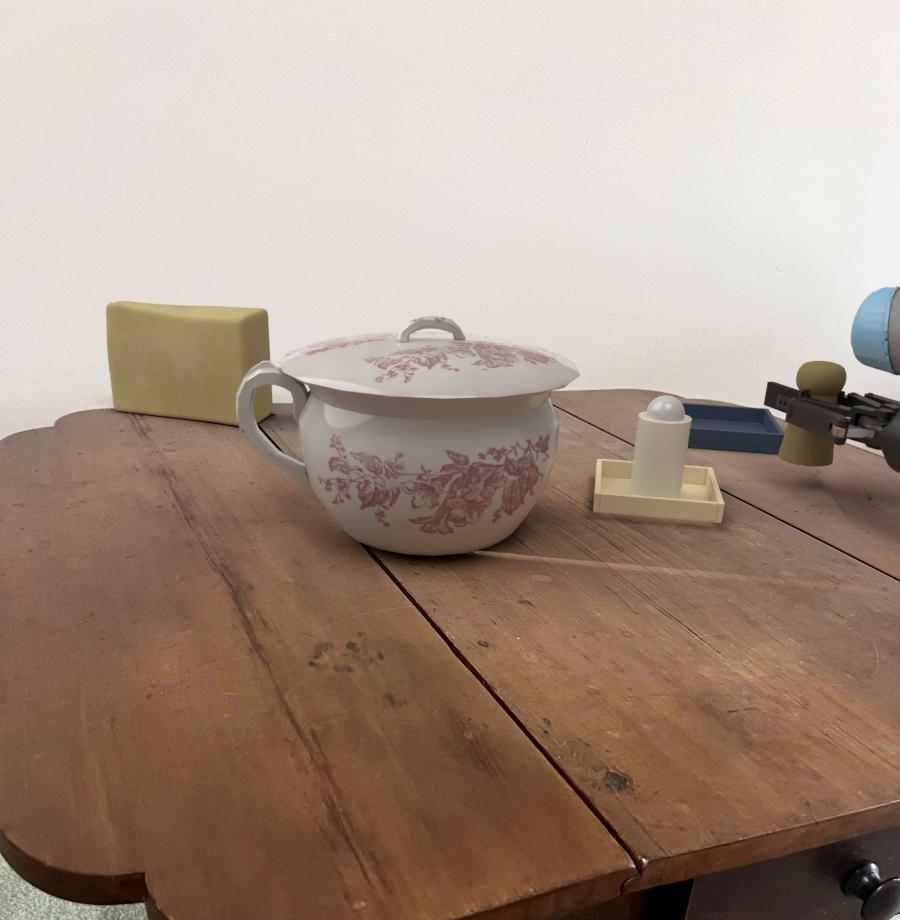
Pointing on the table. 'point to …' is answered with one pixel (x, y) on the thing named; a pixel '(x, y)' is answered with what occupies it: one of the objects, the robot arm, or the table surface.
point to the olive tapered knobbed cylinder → (804, 444)
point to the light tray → (695, 502)
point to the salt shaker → (660, 449)
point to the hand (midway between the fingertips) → (785, 392)
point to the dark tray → (733, 428)
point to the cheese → (185, 359)
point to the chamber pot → (418, 433)
